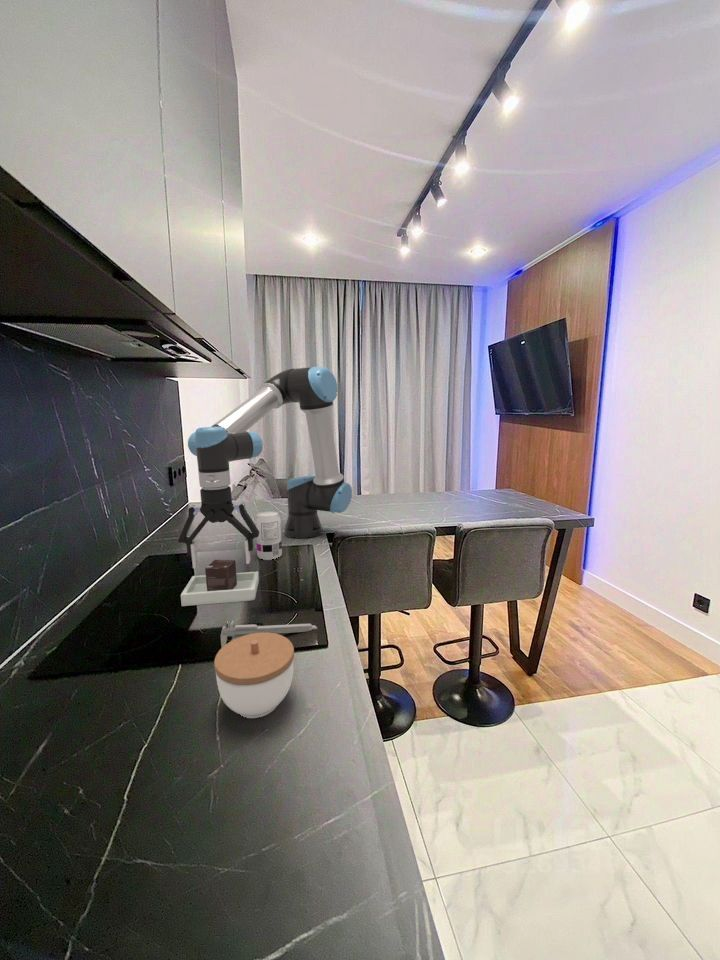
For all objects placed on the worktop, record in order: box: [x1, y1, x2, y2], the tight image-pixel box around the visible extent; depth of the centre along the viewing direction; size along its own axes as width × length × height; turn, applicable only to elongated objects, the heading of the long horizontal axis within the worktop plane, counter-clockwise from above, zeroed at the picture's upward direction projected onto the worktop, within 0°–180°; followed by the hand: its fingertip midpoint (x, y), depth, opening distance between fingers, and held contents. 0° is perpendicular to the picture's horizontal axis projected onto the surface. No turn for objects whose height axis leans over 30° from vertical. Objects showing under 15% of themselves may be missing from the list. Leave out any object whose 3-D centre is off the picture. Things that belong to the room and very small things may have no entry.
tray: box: [180, 571, 260, 607], centre depth 106 cm, size 12×18×3 cm, turn 100°
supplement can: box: [255, 510, 283, 561], centre depth 132 cm, size 8×8×15 cm
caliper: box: [220, 620, 318, 649], centre depth 84 cm, size 20×1×6 cm, turn 115°
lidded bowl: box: [213, 632, 295, 719], centre depth 65 cm, size 13×13×11 cm
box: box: [204, 559, 237, 591], centre depth 106 cm, size 6×6×7 cm
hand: (222, 564), depth 106 cm, fingers open, 13 cm apart
